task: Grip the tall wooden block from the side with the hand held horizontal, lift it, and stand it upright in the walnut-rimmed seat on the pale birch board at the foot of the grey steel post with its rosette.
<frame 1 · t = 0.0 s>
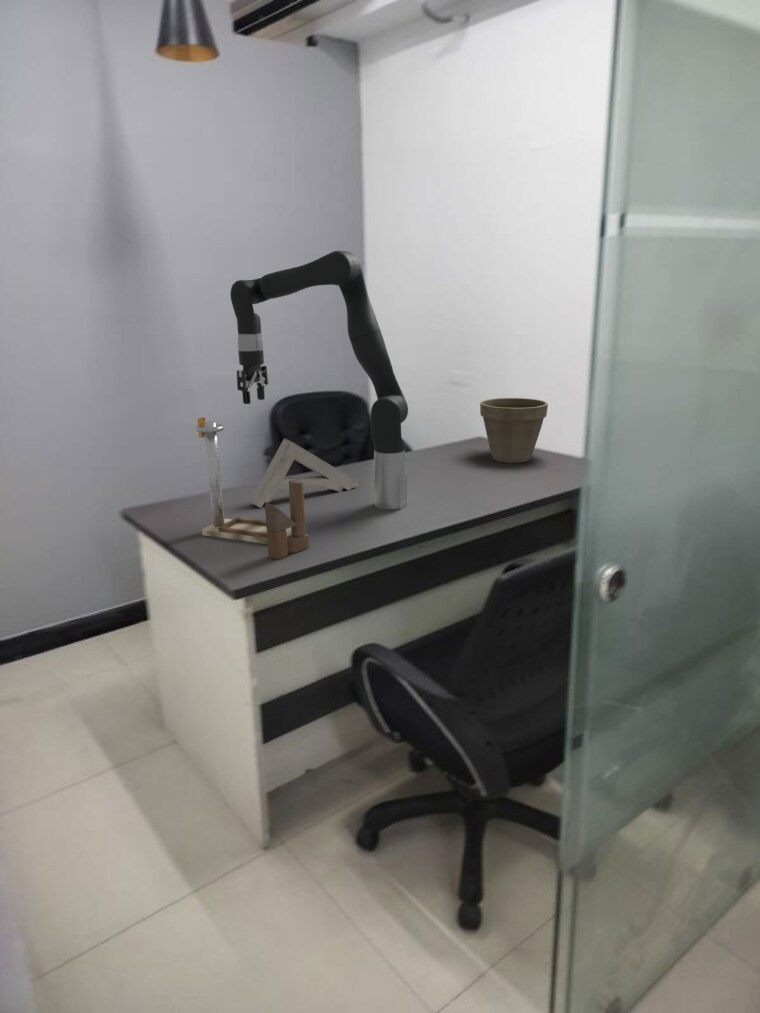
hand: (254, 401, 213), 29 cm above the table, tool pointing down, fingers open, 8 cm apart
wooden block: (289, 553, 172), on the table
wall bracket: (306, 497, 217), on the table
seat board: (250, 534, 185), on the table
plant pot: (510, 459, 260), on the table
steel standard: (219, 529, 188), resting on seat board
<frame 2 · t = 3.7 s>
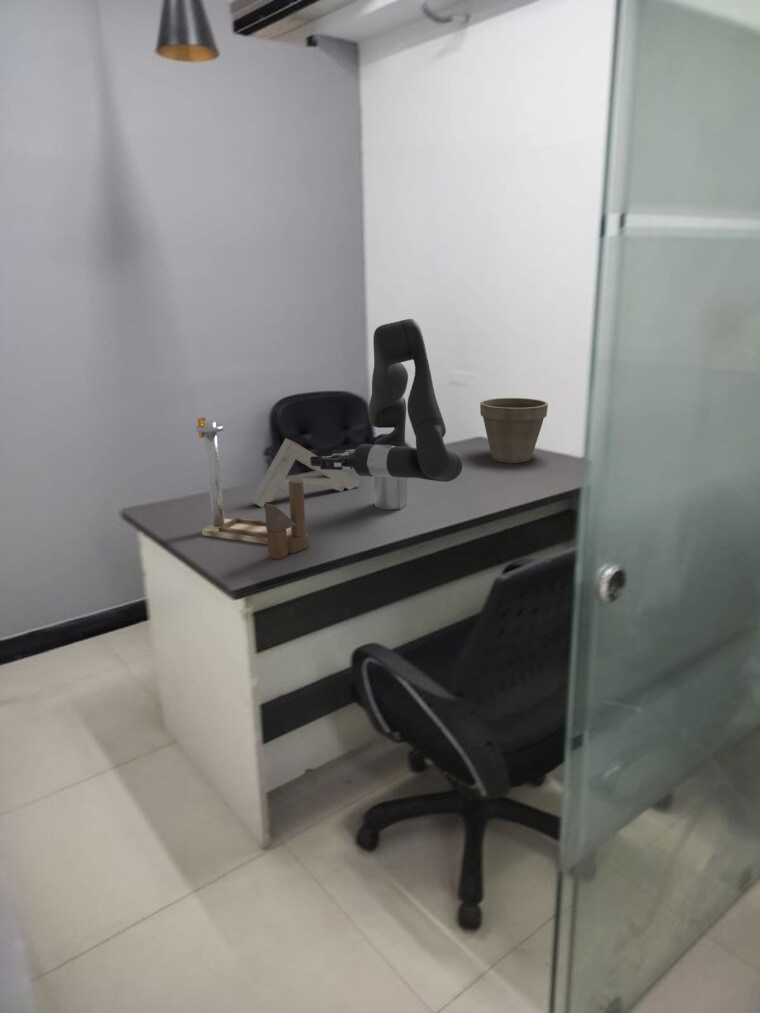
hand: (322, 457, 166), 24 cm above the table, tool horizontal, fingers open, 8 cm apart
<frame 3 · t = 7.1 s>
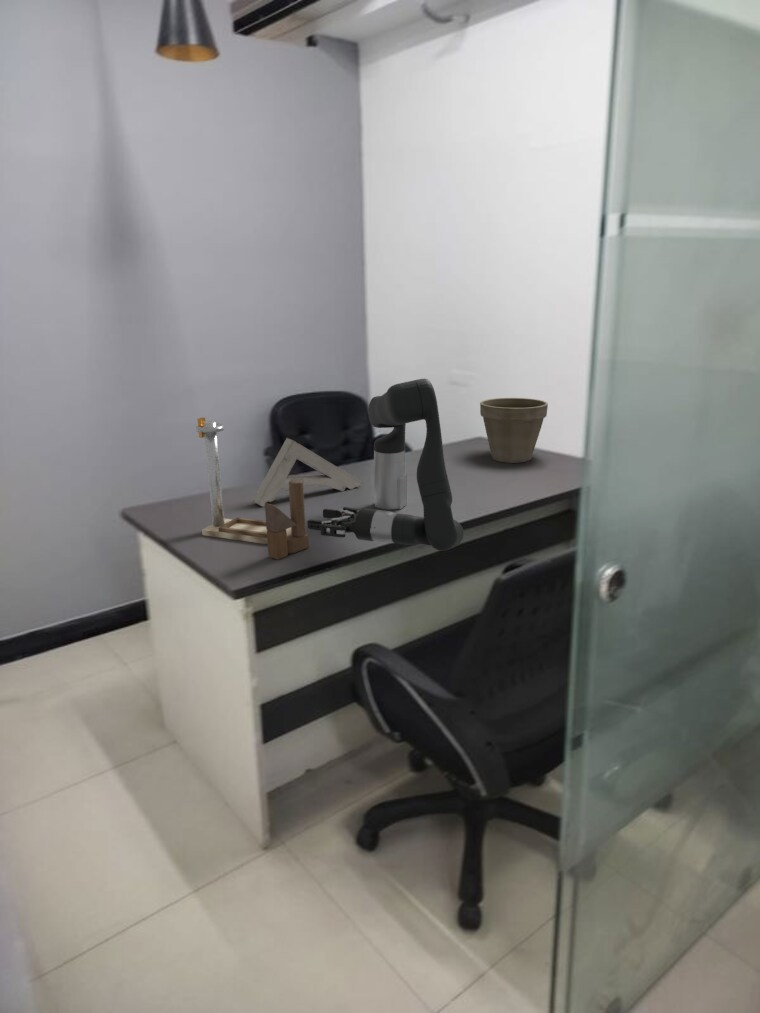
hand: (315, 518, 166), 10 cm above the table, tool horizontal, fingers open, 8 cm apart
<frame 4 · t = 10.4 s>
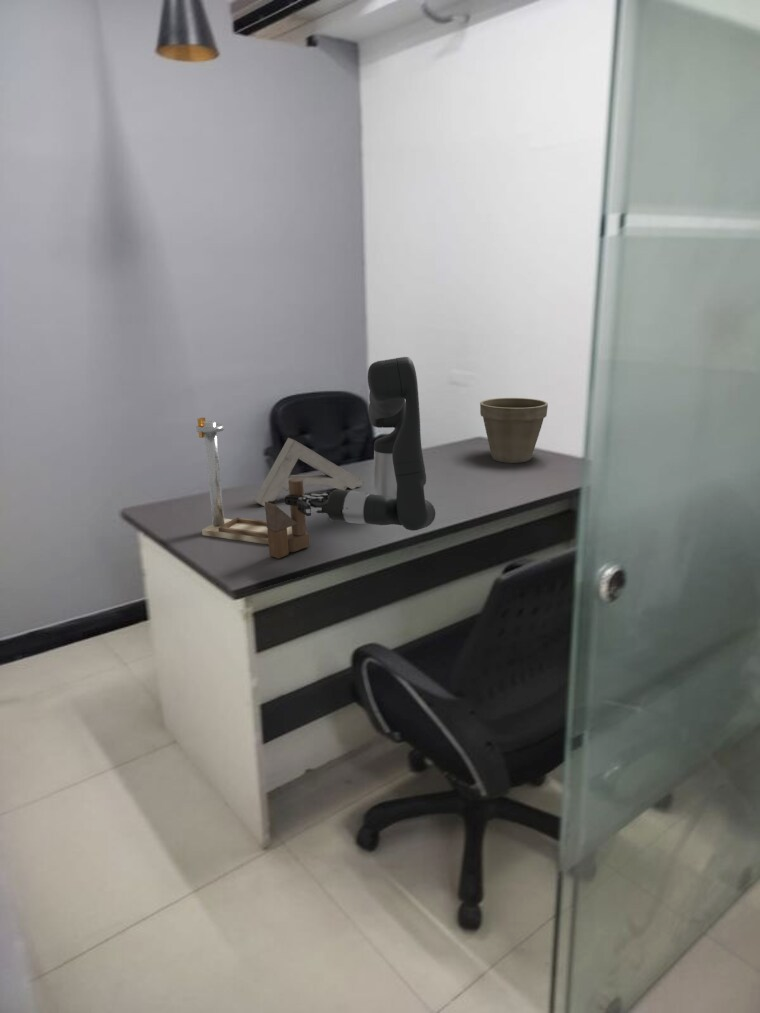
hand: (286, 499, 168), 14 cm above the table, tool horizontal, fingers closed
wooden block: (290, 551, 172), on the table, touching gripper
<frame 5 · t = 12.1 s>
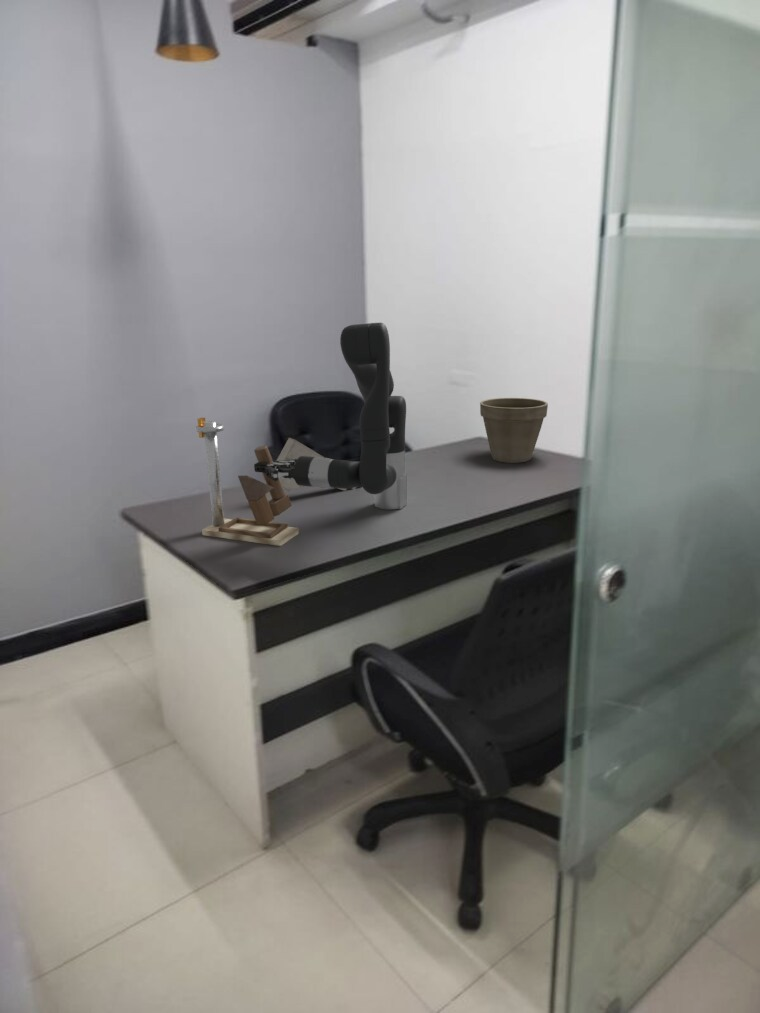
hand: (255, 467, 176), 20 cm above the table, tool horizontal, fingers closed
wooden block: (275, 515, 181), point 6 cm above the table, touching gripper
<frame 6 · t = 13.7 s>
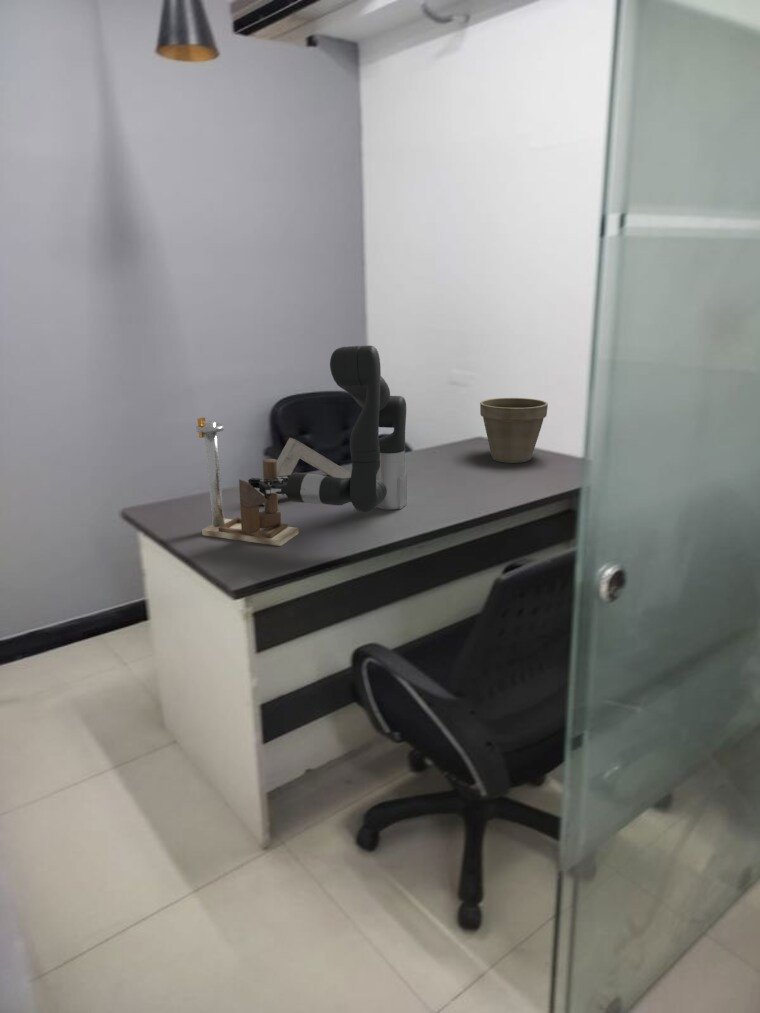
hand: (249, 482, 180), 15 cm above the table, tool horizontal, fingers closed
wooden block: (261, 527, 182), point 2 cm above the table, touching seat board
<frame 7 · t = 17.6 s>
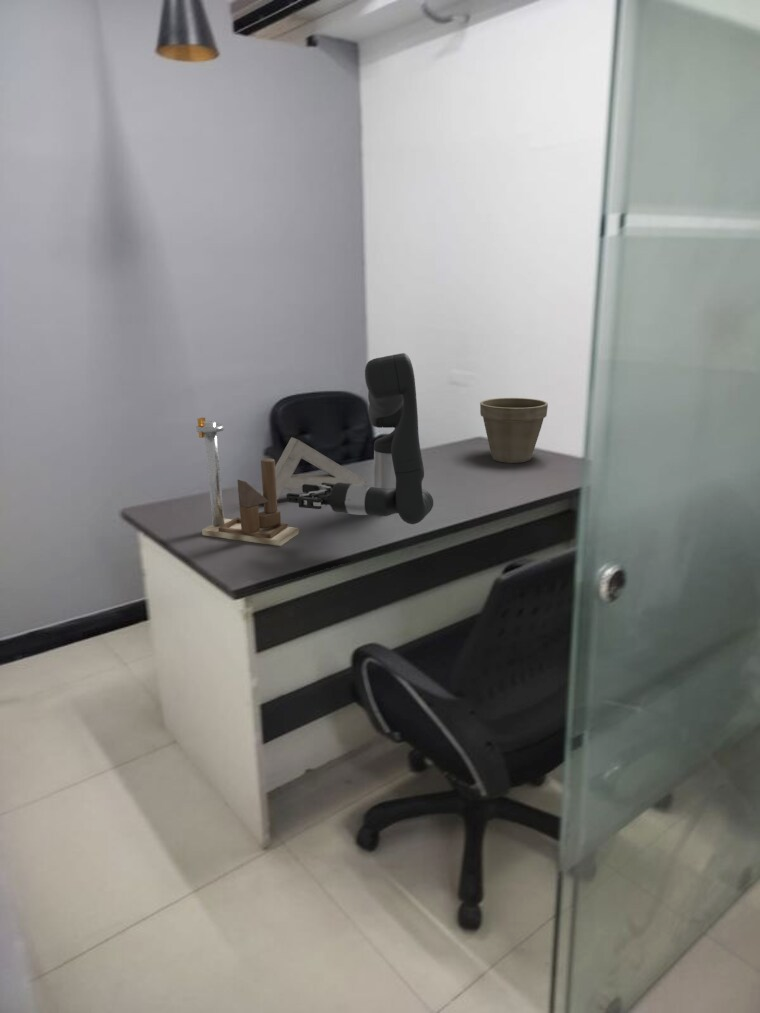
hand: (295, 492, 176), 13 cm above the table, tool horizontal, fingers open, 8 cm apart
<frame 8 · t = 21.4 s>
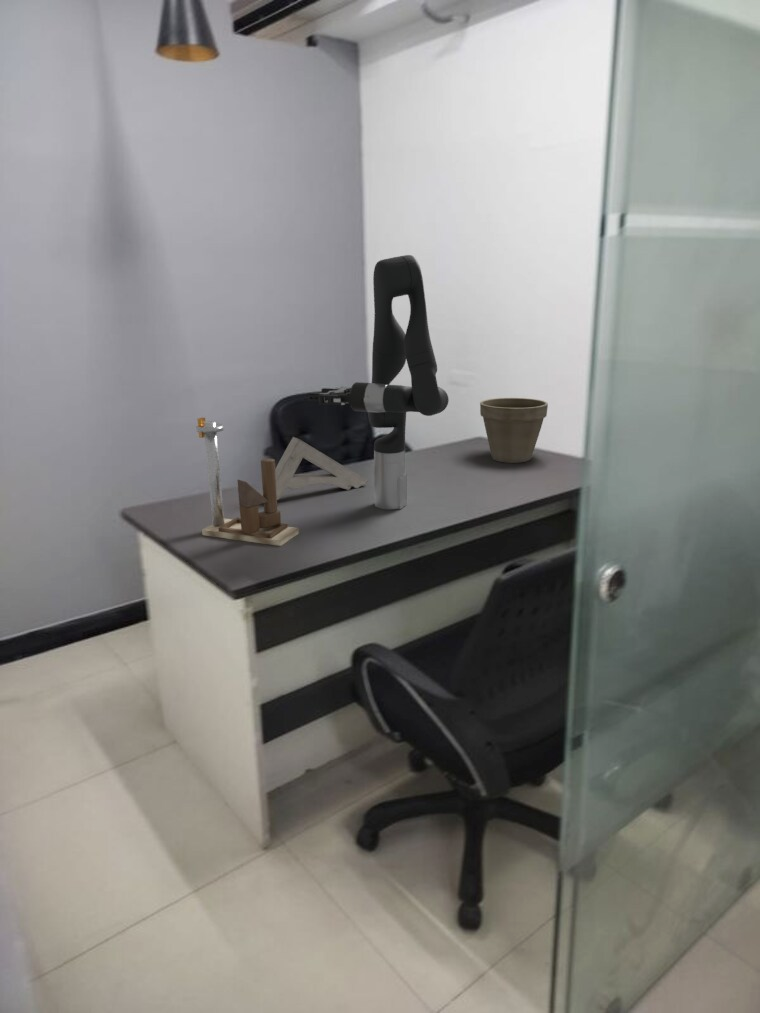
hand: (315, 394, 183), 36 cm above the table, tool horizontal, fingers open, 8 cm apart
at the end: wooden block 2.7 cm from the target spot on the seat board, point 2.3 cm above the seat board's base; wooden block tilted 0°; the gripper is holding nothing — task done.
